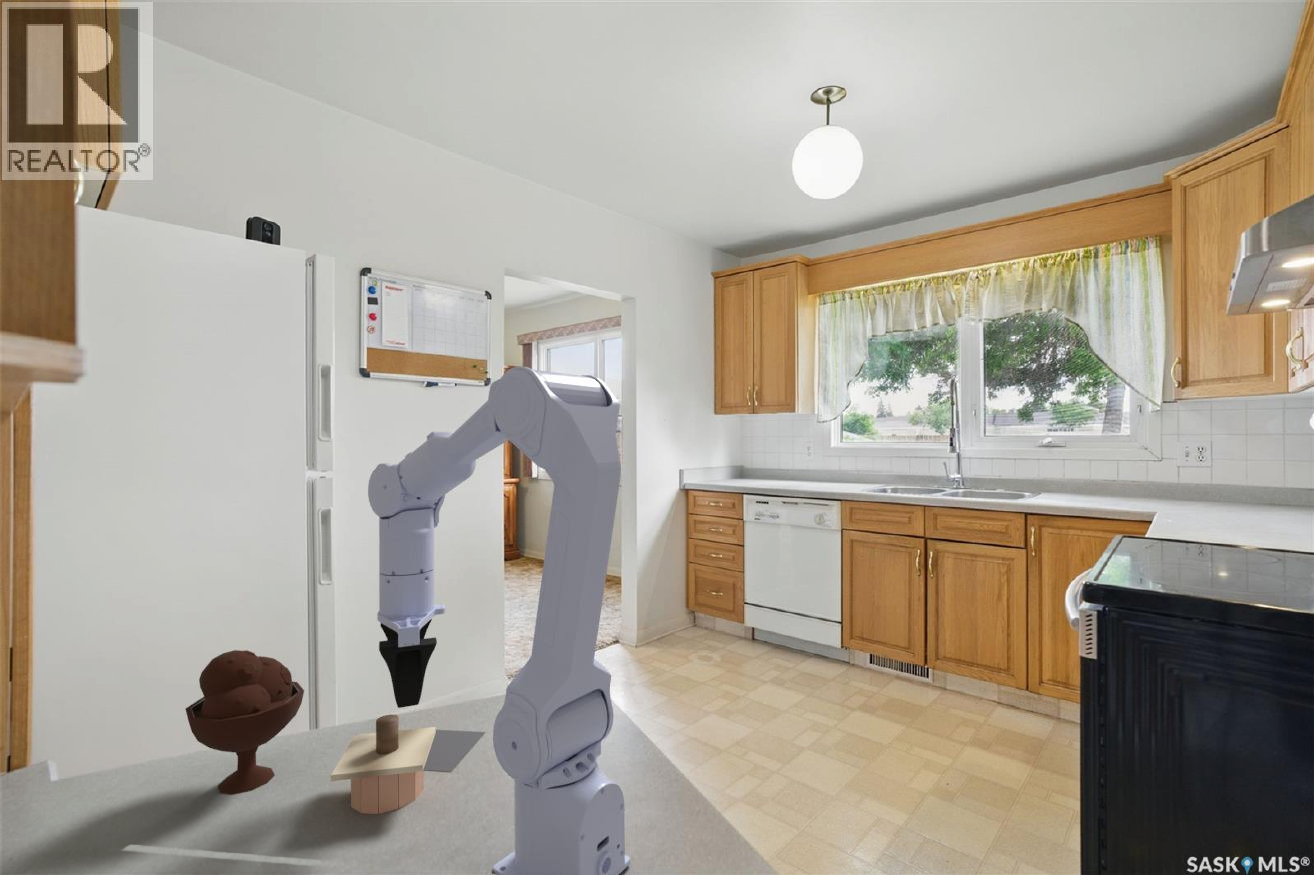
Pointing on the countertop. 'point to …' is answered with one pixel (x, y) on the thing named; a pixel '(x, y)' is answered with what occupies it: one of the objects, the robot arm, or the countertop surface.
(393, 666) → the robot arm
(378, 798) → the bowl
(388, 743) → the cover
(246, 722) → the ice cream bowl
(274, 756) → the countertop surface
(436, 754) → the mat
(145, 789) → the countertop surface
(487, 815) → the countertop surface
